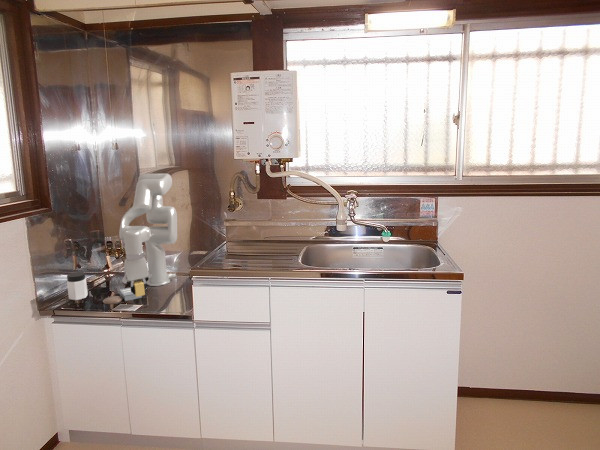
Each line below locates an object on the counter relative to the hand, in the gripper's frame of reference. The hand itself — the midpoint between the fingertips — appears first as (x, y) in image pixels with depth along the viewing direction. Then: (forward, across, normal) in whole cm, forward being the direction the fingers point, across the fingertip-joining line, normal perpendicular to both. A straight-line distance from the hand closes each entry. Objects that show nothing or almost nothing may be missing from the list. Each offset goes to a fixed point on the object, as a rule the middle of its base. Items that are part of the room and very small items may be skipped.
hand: (138, 291), depth 214 cm
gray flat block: (+7, +1, -14) cm, 16 cm away
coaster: (+6, +10, -12) cm, 17 cm away
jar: (+7, +23, -28) cm, 37 cm away
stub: (+1, 0, +1) cm, 1 cm away
